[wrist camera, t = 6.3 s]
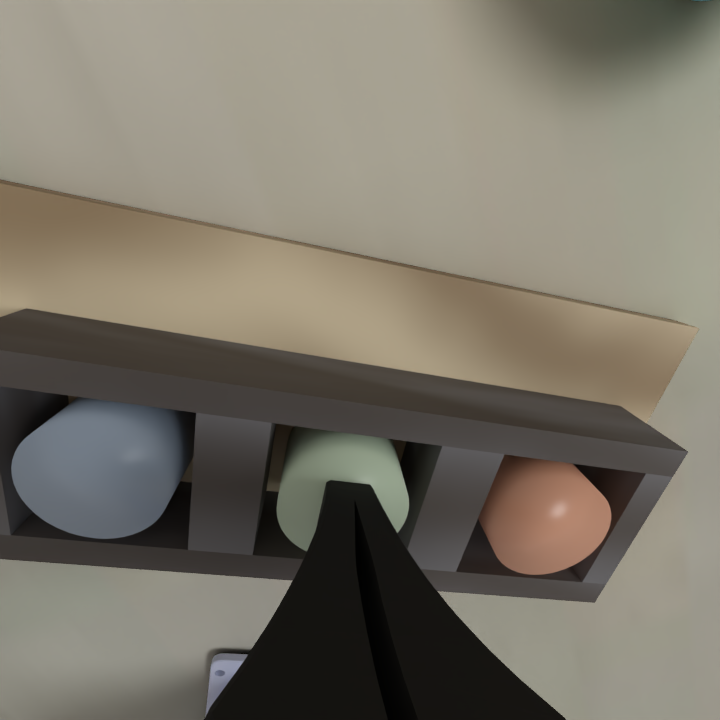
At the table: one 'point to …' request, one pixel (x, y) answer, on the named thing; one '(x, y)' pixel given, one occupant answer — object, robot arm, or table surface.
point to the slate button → (104, 466)
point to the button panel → (318, 386)
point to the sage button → (335, 477)
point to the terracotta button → (543, 515)
